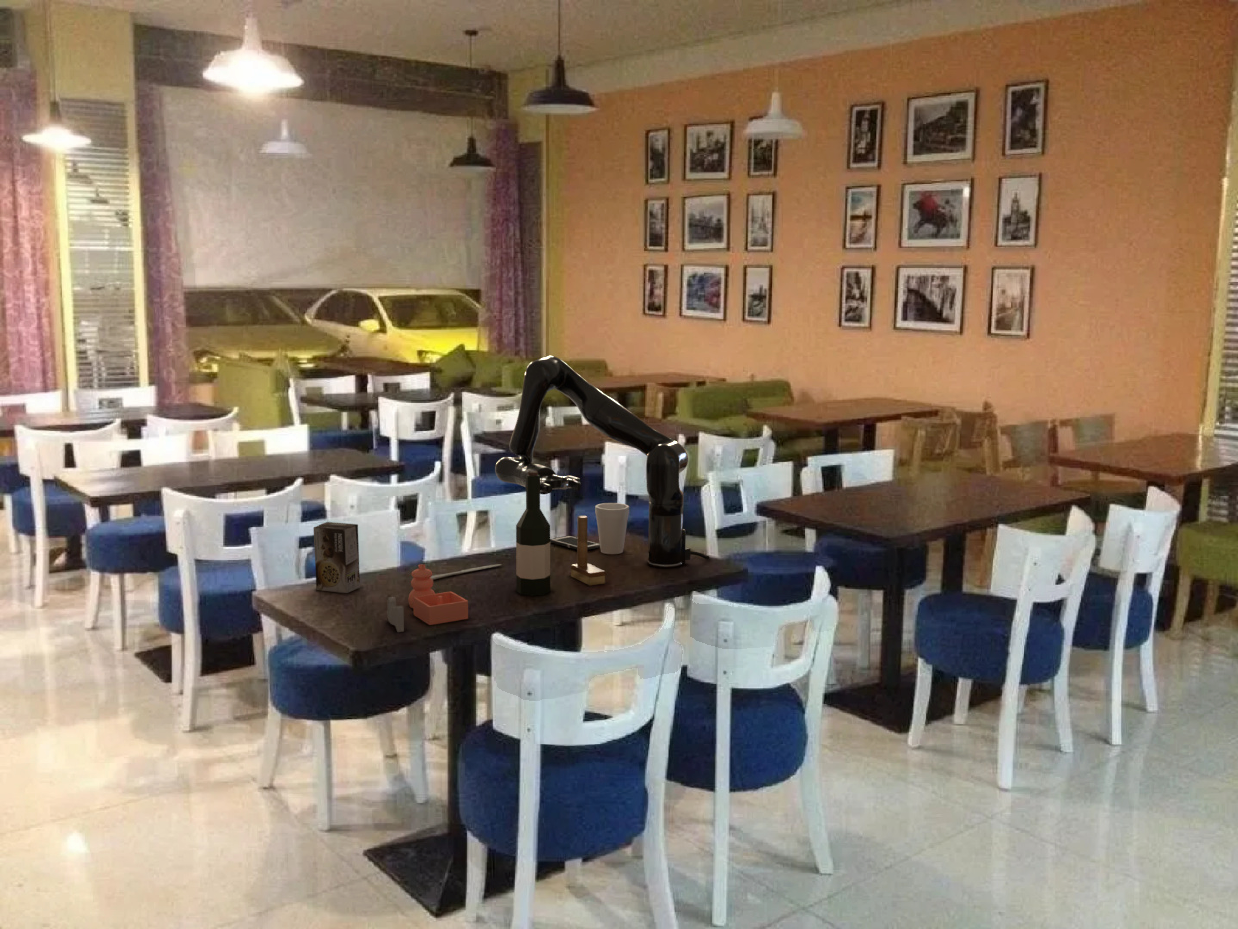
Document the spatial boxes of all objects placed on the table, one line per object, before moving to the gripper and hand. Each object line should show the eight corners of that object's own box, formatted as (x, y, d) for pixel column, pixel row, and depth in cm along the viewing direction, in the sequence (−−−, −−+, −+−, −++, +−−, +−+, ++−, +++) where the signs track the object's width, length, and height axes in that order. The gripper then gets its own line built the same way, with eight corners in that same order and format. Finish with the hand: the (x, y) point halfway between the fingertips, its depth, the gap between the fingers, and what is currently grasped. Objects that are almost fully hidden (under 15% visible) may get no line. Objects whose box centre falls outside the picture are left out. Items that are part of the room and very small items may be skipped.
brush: (571, 576, 301) (571, 516, 298) (585, 574, 303) (586, 514, 300) (589, 585, 292) (590, 523, 289) (605, 583, 294) (605, 521, 292)
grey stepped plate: (397, 632, 253) (386, 619, 262) (404, 632, 254) (392, 618, 263) (397, 607, 252) (386, 595, 261) (403, 606, 253) (392, 594, 262)
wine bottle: (549, 596, 283) (549, 474, 278) (515, 596, 282) (514, 474, 277) (550, 586, 291) (550, 468, 286) (517, 586, 291) (516, 468, 285)
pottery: (468, 618, 264) (467, 576, 262) (429, 625, 259) (428, 582, 257) (435, 599, 279) (435, 559, 277) (398, 605, 274) (397, 564, 272)
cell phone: (568, 538, 342) (568, 535, 342) (602, 547, 331) (602, 544, 331) (548, 542, 337) (548, 539, 337) (581, 551, 326) (581, 548, 326)
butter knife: (420, 577, 296) (426, 579, 294) (498, 562, 311) (504, 565, 309) (420, 578, 296) (426, 581, 294) (498, 564, 311) (504, 566, 309)
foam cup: (594, 547, 332) (594, 503, 329) (626, 547, 333) (626, 502, 330) (597, 555, 322) (597, 510, 320) (630, 555, 323) (630, 509, 321)
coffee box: (361, 587, 288) (359, 523, 286) (346, 594, 282) (345, 529, 280) (329, 583, 291) (327, 521, 289) (314, 590, 285) (312, 526, 283)
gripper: (514, 467, 316) (539, 476, 302) (561, 463, 322) (588, 471, 308) (514, 494, 317) (540, 504, 303) (561, 489, 324) (588, 499, 310)
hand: (564, 488), depth 306 cm, fingers open, 8 cm apart
